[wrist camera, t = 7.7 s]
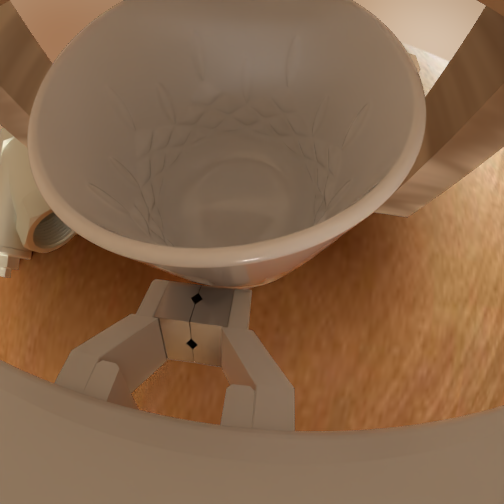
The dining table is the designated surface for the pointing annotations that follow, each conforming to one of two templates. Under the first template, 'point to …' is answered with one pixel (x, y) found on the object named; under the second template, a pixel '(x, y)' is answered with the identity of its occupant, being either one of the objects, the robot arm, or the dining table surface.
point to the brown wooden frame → (446, 87)
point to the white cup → (225, 132)
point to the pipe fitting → (24, 210)
